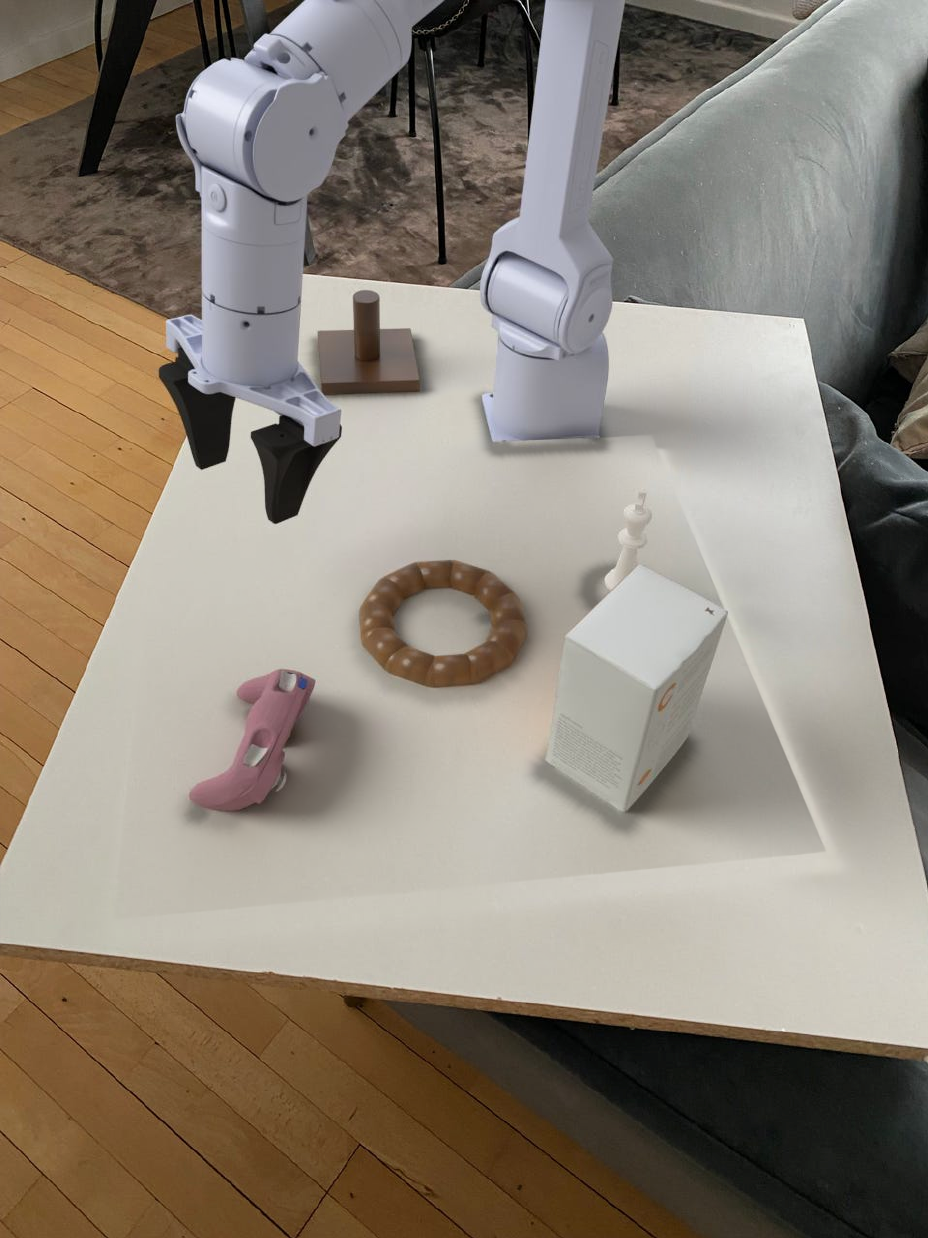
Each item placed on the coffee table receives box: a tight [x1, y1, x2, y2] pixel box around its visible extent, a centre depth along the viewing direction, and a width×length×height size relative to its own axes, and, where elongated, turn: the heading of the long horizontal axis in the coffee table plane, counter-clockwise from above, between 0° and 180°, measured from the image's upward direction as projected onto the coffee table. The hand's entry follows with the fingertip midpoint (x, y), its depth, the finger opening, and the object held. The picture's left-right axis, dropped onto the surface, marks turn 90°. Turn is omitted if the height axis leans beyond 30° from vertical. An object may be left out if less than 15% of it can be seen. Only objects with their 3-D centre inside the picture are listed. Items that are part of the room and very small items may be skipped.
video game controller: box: [188, 668, 316, 812], centre depth 65 cm, size 10×5×7 cm, turn 168°
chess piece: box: [604, 487, 653, 592], centre depth 76 cm, size 5×5×10 cm
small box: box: [544, 563, 729, 813], centre depth 64 cm, size 8×6×13 cm
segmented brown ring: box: [358, 559, 528, 688], centre depth 75 cm, size 12×12×2 cm
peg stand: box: [317, 289, 421, 395], centre depth 96 cm, size 9×9×7 cm
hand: (246, 489), depth 70 cm, fingers open, 7 cm apart
